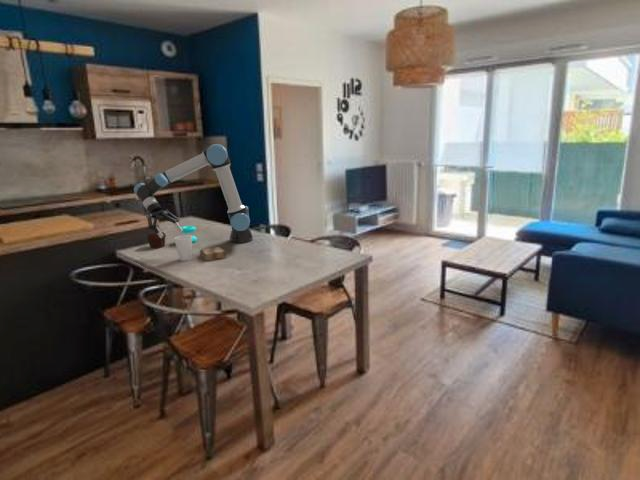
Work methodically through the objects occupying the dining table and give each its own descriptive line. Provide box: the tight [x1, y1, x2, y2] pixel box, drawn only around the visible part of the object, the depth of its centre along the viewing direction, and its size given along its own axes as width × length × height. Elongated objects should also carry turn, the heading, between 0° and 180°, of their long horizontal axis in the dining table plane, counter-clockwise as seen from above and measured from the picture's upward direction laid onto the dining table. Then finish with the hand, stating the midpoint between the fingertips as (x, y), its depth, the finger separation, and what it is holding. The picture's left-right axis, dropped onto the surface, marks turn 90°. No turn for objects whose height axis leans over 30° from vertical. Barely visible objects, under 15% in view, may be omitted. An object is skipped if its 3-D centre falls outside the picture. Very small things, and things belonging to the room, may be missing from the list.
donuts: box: [181, 225, 198, 244], centre depth 271 cm, size 10×10×10 cm
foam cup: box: [174, 234, 193, 262], centre depth 234 cm, size 10×9×13 cm
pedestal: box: [199, 246, 227, 262], centre depth 239 cm, size 12×12×4 cm
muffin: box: [146, 230, 167, 249], centre depth 261 cm, size 12×11×10 cm
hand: (172, 234), depth 236 cm, fingers open, 13 cm apart
